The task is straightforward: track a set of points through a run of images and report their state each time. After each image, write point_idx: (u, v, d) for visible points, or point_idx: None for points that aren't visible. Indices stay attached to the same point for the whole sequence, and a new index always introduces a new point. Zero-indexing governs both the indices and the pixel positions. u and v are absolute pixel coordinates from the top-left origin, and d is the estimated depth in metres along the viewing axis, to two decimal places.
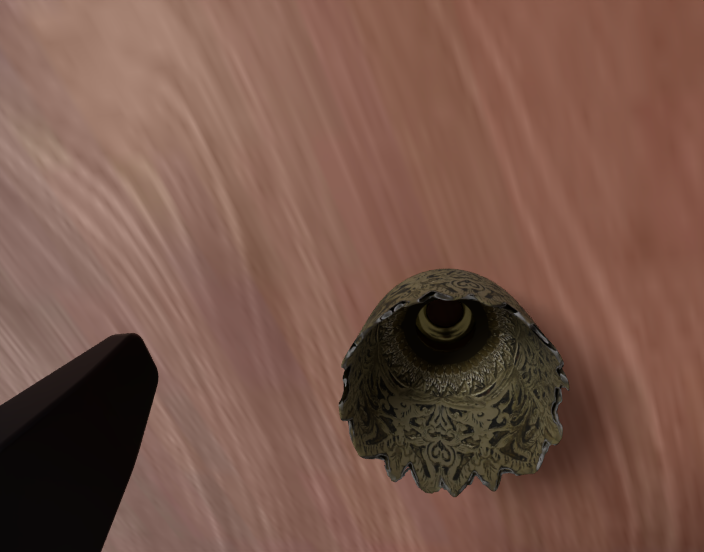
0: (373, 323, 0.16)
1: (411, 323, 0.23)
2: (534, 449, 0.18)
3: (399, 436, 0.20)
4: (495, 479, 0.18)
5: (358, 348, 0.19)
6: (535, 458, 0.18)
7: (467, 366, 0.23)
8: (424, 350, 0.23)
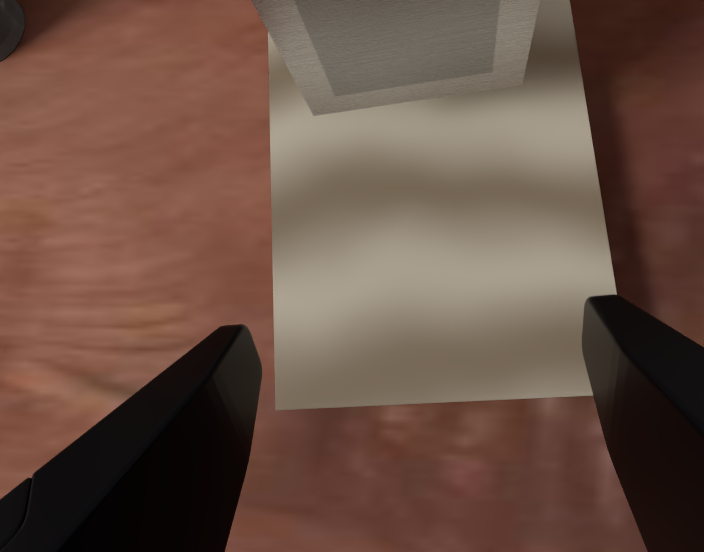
0: None
1: None
2: None
3: None
4: None
5: None
6: None
7: None
8: None
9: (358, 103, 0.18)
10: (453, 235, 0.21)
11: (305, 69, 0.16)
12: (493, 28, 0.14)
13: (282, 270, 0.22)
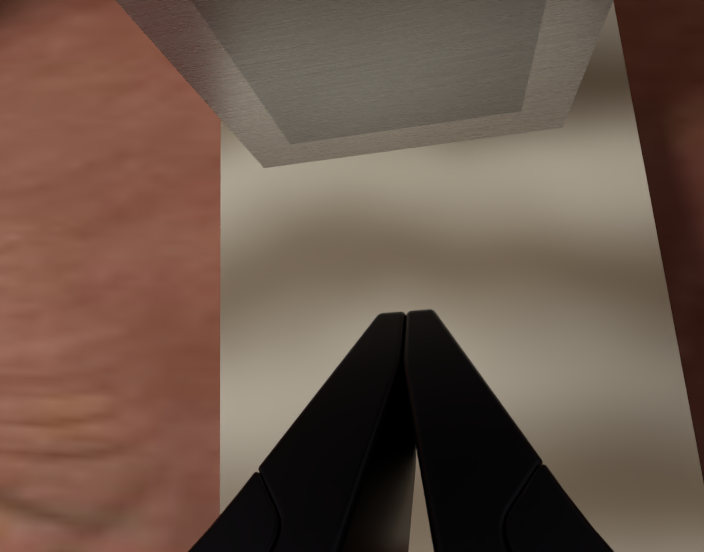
0: None
1: None
2: None
3: None
4: None
5: None
6: None
7: None
8: None
9: (325, 152, 0.12)
10: (461, 322, 0.15)
11: (238, 109, 0.10)
12: (529, 49, 0.09)
13: (233, 364, 0.16)
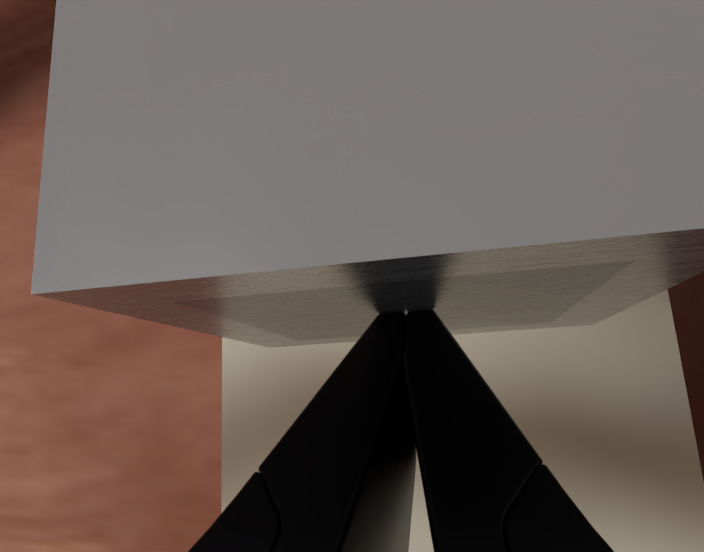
0: None
1: None
2: None
3: None
4: None
5: None
6: None
7: None
8: None
9: (336, 341, 0.11)
10: None
11: (243, 333, 0.09)
12: (567, 305, 0.08)
13: None
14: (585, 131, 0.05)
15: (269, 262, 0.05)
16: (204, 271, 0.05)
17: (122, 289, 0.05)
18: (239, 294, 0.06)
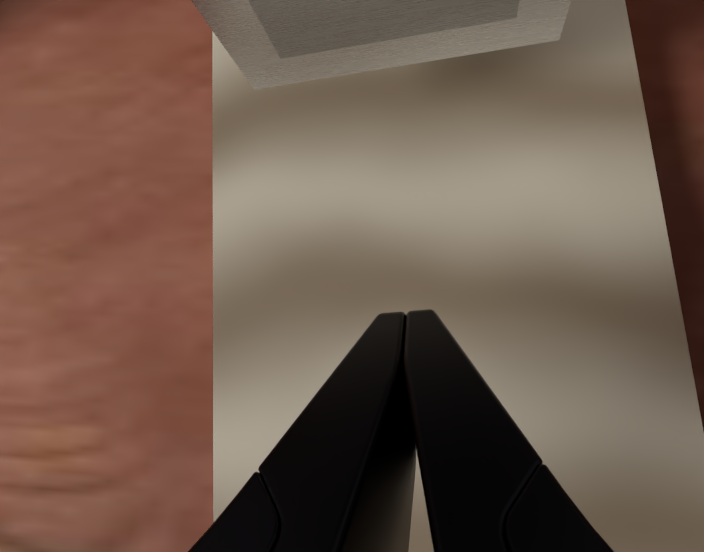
0: None
1: None
2: None
3: None
4: None
5: None
6: None
7: None
8: None
9: (317, 70, 0.12)
10: None
11: (226, 11, 0.10)
12: None
13: (226, 400, 0.16)
14: None
15: None
16: None
17: None
18: None
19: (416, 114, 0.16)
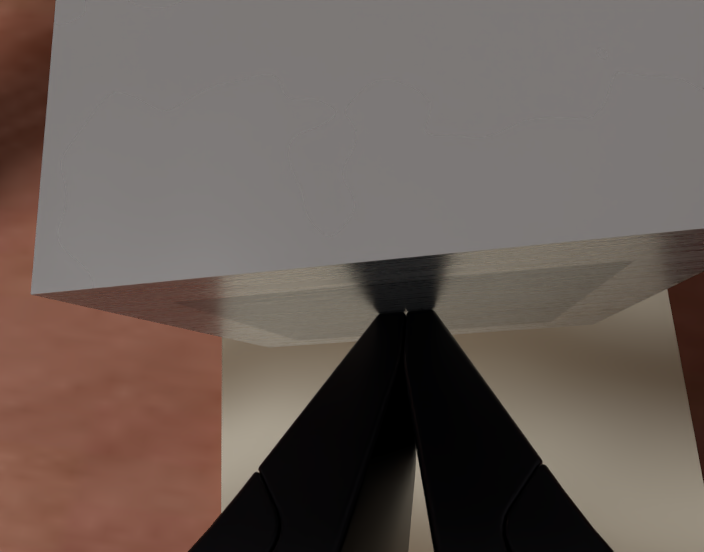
0: None
1: None
2: None
3: None
4: None
5: None
6: None
7: None
8: None
9: (335, 341, 0.11)
10: None
11: (243, 333, 0.09)
12: (567, 305, 0.08)
13: None
14: (584, 131, 0.05)
15: (269, 262, 0.05)
16: (204, 271, 0.05)
17: (122, 289, 0.05)
18: (239, 294, 0.06)
19: None
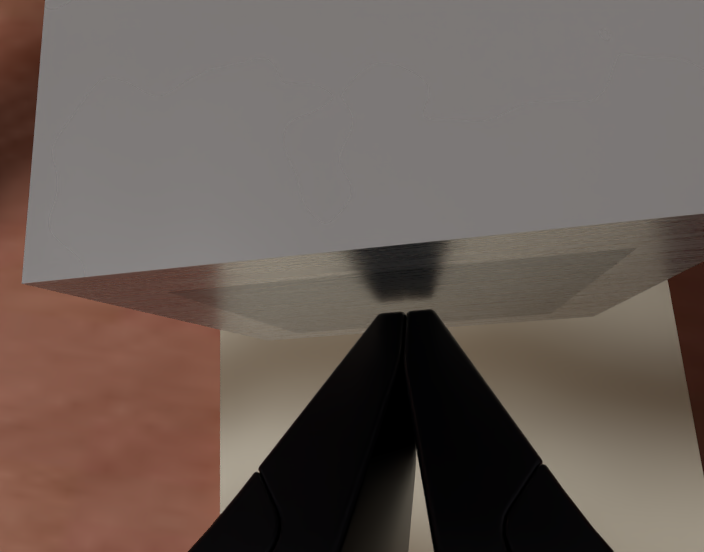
0: None
1: None
2: None
3: None
4: None
5: None
6: None
7: None
8: None
9: (334, 333, 0.11)
10: None
11: (240, 325, 0.09)
12: (567, 296, 0.08)
13: None
14: (586, 114, 0.04)
15: (264, 248, 0.05)
16: (198, 259, 0.05)
17: (115, 278, 0.05)
18: (234, 283, 0.06)
19: None
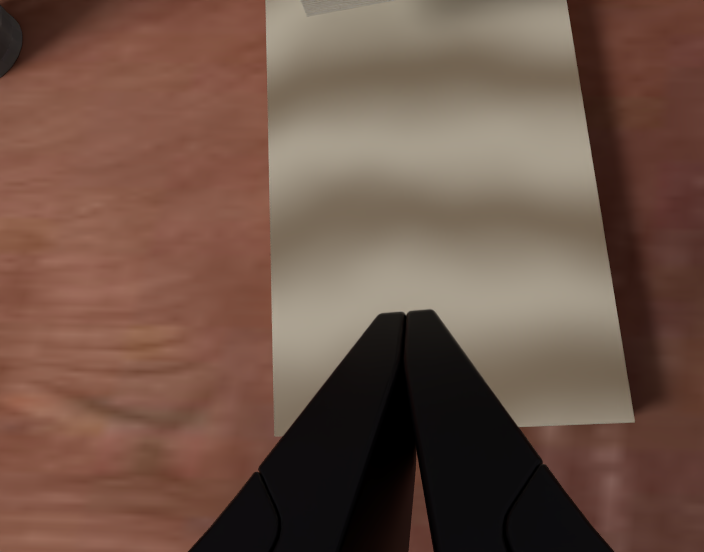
0: None
1: None
2: None
3: None
4: None
5: None
6: None
7: None
8: None
9: (349, 1, 0.19)
10: (453, 259, 0.20)
11: None
12: None
13: (281, 294, 0.22)
14: None
15: None
16: None
17: None
18: None
19: (418, 90, 0.22)
